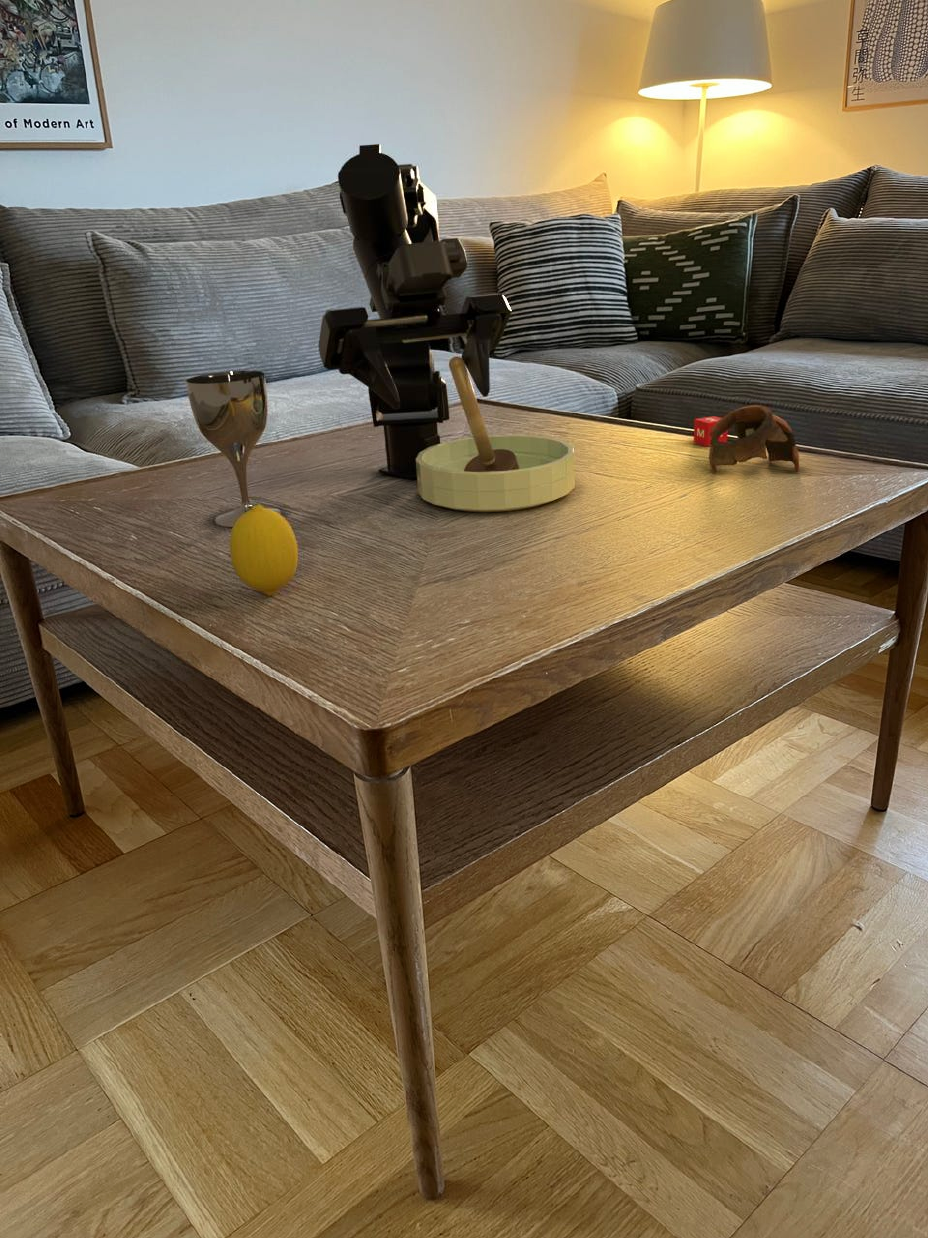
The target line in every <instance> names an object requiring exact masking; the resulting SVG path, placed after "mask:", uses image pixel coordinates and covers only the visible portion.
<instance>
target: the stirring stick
mask: <svg viewBox="0 0 928 1238" xmlns="http://www.w3.org/2000/svg"><path fill="white" fill-rule="evenodd" d="M448 367H449V370H450V373H451V376H452V379H453V382H454V385H455V388H456V391H457V394H458V397H459V400H460V403H461V407H462V409H463V413H464V415H465V418H466V420H467V425H468V427H469V430H470V432H471V437H473V439H474V442H475V445H476V448H477V451H478V454H479V455H478V456H476V457H474V458H473V459H472V460H470V461H469V462H468V463H467V465H466V466H465V469H464V472H496V471H509V470H517V469H520V467H519V464H518V461H517V458H516V455H515V454H514V453H513V452H512V451H510V450H506V449H496V450H493V449H492V446H491V443H490V440H489V437H488V436H489V434H488V430H487V428H486V424H485V421H484V418H483V415H482V413H481V408H480V406H479V403H478V400H477V397H476V393H475V390H474V388H473V387H474V386H473V384H472V381H471V378H470V374H469V371H468V369H467V367H466V365H465V363H464V360H463V359H462V357H461V356H459V355H456V356H453V357H451V358H450V360H449V361H448Z"/></svg>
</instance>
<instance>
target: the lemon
mask: <svg viewBox="0 0 928 1238" xmlns="http://www.w3.org/2000/svg"><path fill="white" fill-rule="evenodd" d="M252 506H253V507H252V509H251V510H249V511H247V512H246V513H244V514H243V515H242V516H240V517H239V519H238V520H237V521H236V523H235V524H234V526H233V527H231V532H230V537H229V552H230V553H229V554H230V560H231V563H232V566H233V569H234V572H235V574H236V575H237V577H238V579H240V581H242V583H244V584H245V585H246V586H247V587H249V588H250V589H253V590H255V591H261V592H262V593H264V594H265V595H266V596H269V597H270V596H275V595H276V593H277V592H278V591H279V590H280V589H281V588H282V587H285V585H287V584H288V583H290V581H291V580H292V578H293V577H294V575H295V574H296V571H297V568H298V560H299V548H298V541H297V539H296V535H295V533H294V531H293V528H292V527H291V525H290V523H289V521H288V520H287V519H286V518H285V517H284V516H283V515H280V514H279V513H277V512H275V511H273V510H270V509H266V508H263V507H264V506H262V504H254V505H252Z"/></svg>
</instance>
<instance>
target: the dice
mask: <svg viewBox="0 0 928 1238" xmlns="http://www.w3.org/2000/svg"><path fill="white" fill-rule="evenodd" d="M722 418H723V417H719V416H715V415H712V416H707V417H706V416H705V417H699V418H694V422H693V425H694V426H693V443H694V444H698V445H701V446H704V447H707V448H708V447H711V444H710V441H711V439H712V438H711V436H710V435H709V434H710V431H711V429H712V428H713V426H714V425H715V424H716V423H717V422H718V421H719V420H720V419H722ZM728 433H729V429H727V430H726V431H725V432H724V433H723V434H722V435H721V436H720V437H719V439H718V441H720V442H728Z"/></svg>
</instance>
